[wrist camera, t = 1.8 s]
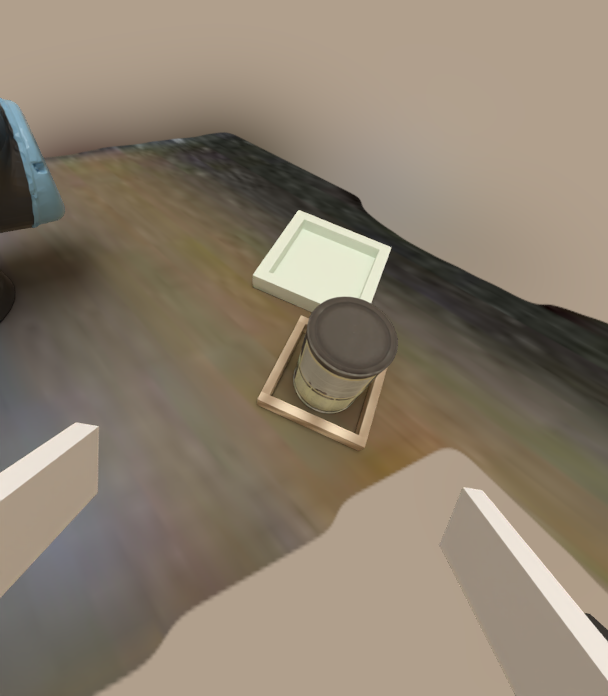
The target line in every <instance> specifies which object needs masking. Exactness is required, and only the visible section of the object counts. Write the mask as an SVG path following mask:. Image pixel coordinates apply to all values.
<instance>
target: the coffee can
mask: <svg viewBox="0 0 608 696" xmlns="http://www.w3.org/2000/svg"><path fill="white" fill-rule="evenodd" d="M397 348H398V338H397V334H396V331H395V328H394V326H393V324H392V322H391V321H390V319H389V318H388V317H387V316H386V314H385V313H383V311H381V310H380V309H379V308H377V307H376V306H374V305H373V304H371V303H369V302H367V301H365V300H362V299H359V298H354V297H335V298H332V299H328V300H326V301H324V302H323V303H321V304H320V305H318V306H317V307H316V308H315V309H314V311H313V312H312V314H311V315H310V317H309V320H308V324H307V331H306V335H305V338H304V342H303V345H302V349H301V352H300V356H299V359H298V362H297V366H296V368H295V371H294V376H293V383H294V388H295V391H296V393H297V395H298V396H299V398H300V399H301V400H302V402H303V403H304V404H305V405H306V406H308V407H310V408H311V409H313V410H315V411H318V412H321V413H337V412H340V411H343V410H345V409H346V408H348V407H349V406H350V405H351V404H352V403H353V402H354V400H355V399H356V398H357V397H358V396H359V395H360V394H361V393H362V392H363V391H364V390H365V389H366V388H367V387H368V386H369V384H370V383H371V382H372V381H373V380H374V379H375V378H376V377H377V376H378V375H379V374H380V373H381V372H382V371H384V370H385V369H386V368H387V367H388V366H389V365H390V364H391V363H392V361H393V360H394V358H395V355H396V353H397Z"/></svg>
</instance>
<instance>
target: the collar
mask: <svg viewBox="0 0 608 696" xmlns="http://www.w3.org/2000/svg"><path fill="white" fill-rule="evenodd" d="M308 320H309V318H306V317H304V316H302V315H301V317H300V319H299V321H298V323H297V325H296V326H295V328H294V330H293V332H292V334H291V336H290V338H289V340H288V342H287V344H286V346H285V348H284V349H283V351H282V353H281V355H280V357H279V359H278V361H277V363H276V365H275V367H274V369H273V370H272V372H271V374H270V376H269V378H268V380H267V382H266V384H265V386H264V388H263V390H262V392H261V393H260V395H259V397H258V399H257V405H259V406H261V407H263V408H265V409H267V410H270V411H272V412H274V413H276V414H278V415H281V416H283V417H285V418H287V419H289V420H292V421H294V422H296V423H298V424H300V425H303V426H305V427H307V428H309V429H311V430H314V431H316V432H318V433H320V434H322V435H325V436H327V437H329V438H331V439H333V440H336V441H338V442H340V443H342V444H344V445H347V446H349V447H351V448H353V449H355V450H358V451H359V450H361V449H363V448H365V445H366V441H367V438H368V434H369V431H370V427H371V424H372V420H373V416H374V413H375V409H376V406H377V402H378V399H379V395H380V392H381V388H382V384H383V381H384V377H385V374H386V370H387V368H386V369H385V370H384V371H382V372H381V373H380V374H379V375H378V376H377V377H376V378H375V379H374V380H373V381H372V382H371V383H370V386H369V389H368V392H367V395H366V399H365V402H364V405H363V408H362V412H361V415H360V418H359V421H358V425H357V428H356V431H355V433H353V432H350V431H348V430H346V429H344V428H342V427H339V426H337V425H335V424H333V423H330V422H328V421H326V420H324V419H322V418H319V417H317V416H315V415H313V414H310V413H308V412H306V411H304V410H302V409H299V408H297V407H295V406H293V405H290V404H288V403H286V402H284V401H282V400H279V399H277V398H275V397H273V396H272V394H273V391H274V389H275V387H276V385H277V383H278V381H279V379H280V377H281V375H282V373H283V371H284V369H285V367H286V365H287V363H288V361H289V359H290V357H291V355H292V353H293V351H294V349H295V347H296V345H297V343H298V341H299V339H300V337H301V335H302V333H303V332H304V333H306V331H307V324H308Z"/></svg>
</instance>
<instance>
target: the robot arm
mask: <svg viewBox="0 0 608 696" xmlns="http://www.w3.org/2000/svg"><path fill="white" fill-rule="evenodd" d="M64 213H65V207H64V204H63V201H62V199H61V196H60V194H59V192H58V189H57V187H56V185H55V183H54V180H53V178H52V176H51V174H50V171H49V169H48V167H47V165H46V162H45V160H44V158H43V156H42V154H41V152H40V149H39V147H38V145H37V143H36V141H35V139H34V136H33V134H32V132H31V130H30V127H29V125H28V123H27V121H26V119H25V117H24V115H23V113H22V111H21V109H20V107H19V106H18V105H17V104H15V103H14V102H13V101H11V100H4V99H2V98H0V233H3V232H8V231H14V230H20V229H25V228H35V227H37V226H38V225H40V224H44V223H48V222H52V221H56V220H59V219H61V218H62V217H63V216H64ZM14 297H15V290H14V286H13V284H12V282H11V281H10V279H9V278H8V277H7V276H6V275H5V274H3V273H2V272H1V271H0V321H1V320H2V319H3V318H4V317H5V316H6V315H7V313H8V312H9V310H10V309H11V307H12V304H13V302H14ZM98 446H99V426H94V425H88V424H82V423H74V424H73V425H71V426H70V427H68V428H67V429H65V430H64V431H62V432H61V433H59V434H58V435H56V436H55V437H53V438H52V439H50V440H49V441H47V442H46V443H44V444H43V445H41V446H40V447H38V448H37V449H35V450H34V451H32V452H31V453H29V454H28V455H26V456H25V457H23V458H22V459H20V460H19V461H17V462H16V463H14V464H13V465H11V466H10V467H8V468H7V469H5V470H4V471H2V472H1V473H0V598H1V597H2V596H3V594H4V593H5V592H6V591H7V590H8V589H9V588H10V587H11V586H12V585H13V584H14V583H15V581H16V580H17V579H18V578H19V577H20V576H21V575H22V574H23V573H24V572H25V571H26V570H27V568H28V567H29V566H30V565H31V564H32V563H33V562H34V561H35V560H36V559H37V558H38V557H39V555H40V554H41V553H42V552H43V551H44V550H45V549H46V548H47V547H48V546H49V545H50V544H51V543H52V541H53V540H54V539H55V538H56V537H57V536H58V535H59V534H60V533H61V532H62V531H63V530H64V528H65V527H66V526H67V525H68V524H69V523H70V522H71V521H72V520H73V519H74V518H75V517H76V515H77V514H78V513H79V512H80V511H81V510H82V509H83V508H84V507H85V506H86V505H87V504H88V502H89V501H90V500H91V499H92V498H93V497H94V496H95V495H96V494H97V493H98ZM440 547H441V549H442V551H443V553H444V555H445V557H446V559H447V561H448V563H449V565H450V567H451V569H452V571H453V573H454V575H455V577H456V579H457V581H458V583H459V585H460V587H461V589H462V591H463V593H464V595H465V597H466V599H467V601H468V603H469V605H470V607H471V609H472V611H473V613H474V615H475V617H476V619H477V621H478V622H479V625H480V627H481V629H482V631H483V633H484V635H485V637H486V638H487V641H488V643H489V645H490V646H491V649H492V650H493V653H494V654H495V656H496V658H497V660H498V662H499V664H500V666H501V668H502V670H503V672H504V674H505V676H506V678H507V680H508V682H509V684H510V686H511V688H512V690H513V692H514V694H515V696H608V630H607V629H606V628H605V627H604V626H603V625H601V624H600V623H599V622H598V621H597V620H596V619H595V618H594V617H593V616H591V615H590V614H587V613H584V612H583V611H582V610H581V609H580V608H579V606H578V605H577V604H576V603H575V602H574V601H573V599H572V598H571V597H570V596H569V594H568V593H567V592H566V591H565V590H564V588H563V587H562V586H561V585H560V584H559V582H558V581H557V580H556V579H555V577H554V576H553V575H552V574H551V573H550V571H549V570H548V569H547V568H546V567H545V565H544V564H543V563H542V562H541V561H540V559H539V558H538V557H537V556H536V554H535V553H534V552H533V551H532V550H531V548H530V547H529V546H528V545H527V544H526V542H525V541H524V540H523V539H522V538H521V536H520V535H519V534H518V533H517V532H516V530H515V529H514V528H513V527H512V525H510V523H509V522H508V521H507V519H506V518H505V517H504V516H503V515H502V514H501V512H500V511H499V510H498V509H497V507H496V506H495V505H494V504H493V503H492V501H491V500H490V499H489V498H488V497H487V495H486V494H485V493H484V492H483V491H482V490H477V489H471V488H464V487H463V488H462V490H461V493H460V495H459V498H458V500H457V503H456V505H455V508H454V510H453V513H452V515H451V517H450V520H449V523H448V525H447V527H446V530H445V532H444V535H443V537H442V540H441V542H440Z"/></svg>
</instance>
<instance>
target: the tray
mask: <svg viewBox="0 0 608 696" xmlns="http://www.w3.org/2000/svg"><path fill="white" fill-rule="evenodd" d="M390 250H391V247H389V246H387V245H384V244H382V243H379V242H377V241H374V240H372V239H369V238H367V237H364V236H362V235H359V234H357V233H354V232H352V231H349V230H347V229H345V228H342V227H340V226H337V225H335V224H332V223H330V222H327V221H325V220H322V219H320V218H317V217H315V216H312V215H310V214H307V213H305V212H302V211H300V210H298V212H297V213H296V215H295V216H294V217H293V219H292V220H291V222H290V223H289V224H288V226H287V227H286V229H285V230H284V232H283V233H282V234H281V236H280V237H279V239H278V240H277V241H276V243H275V244H274V246H273V247H272V248H271V250H270V251H269V253H268V254H267V256H266V257H265V258H264V260H263V261H262V263H261V264H260V265H259V267H258V268H257V270H256V271H255V273H254V274H253V287H254V288H256V289H259V290H261V291H263V292H266V293H268V294H270V295H273V296H275V297H277V298H280V299H282V300H284V301H287V302H289V303H291V304H294V305H296V306H298V307H301V308H303V309H305V310H308V311H310V312H313V311H314V309H315V308H316V307H317V306H318V305H320V304H321V303H323V302H324V301H326V300H328V299H332V298H335V297H354V298H359V299H362V300H365V301H367V302H369V303H371V302H372V299H373V297H374V294H375V291H376V288H377V286H378V283H379V280H380V277H381V275H382V272H383V269H384V266H385V264H386V261H387V258H388V255H389V253H390Z"/></svg>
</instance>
